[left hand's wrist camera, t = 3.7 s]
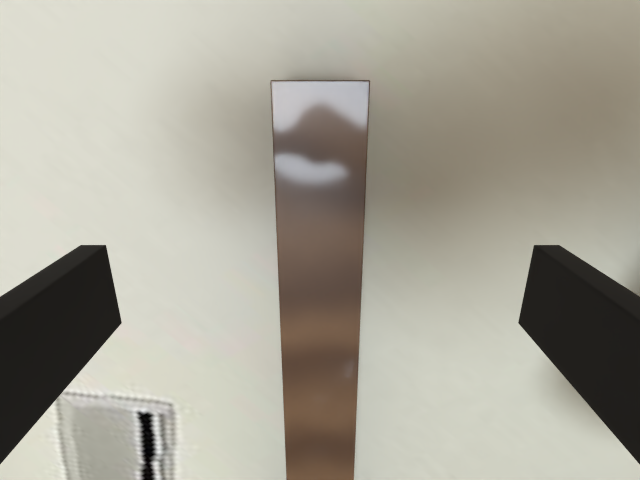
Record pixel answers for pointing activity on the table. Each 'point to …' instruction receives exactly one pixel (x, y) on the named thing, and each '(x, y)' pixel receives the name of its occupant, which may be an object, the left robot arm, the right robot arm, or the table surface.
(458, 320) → the table surface
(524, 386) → the table surface
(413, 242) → the table surface
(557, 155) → the table surface
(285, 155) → the post
